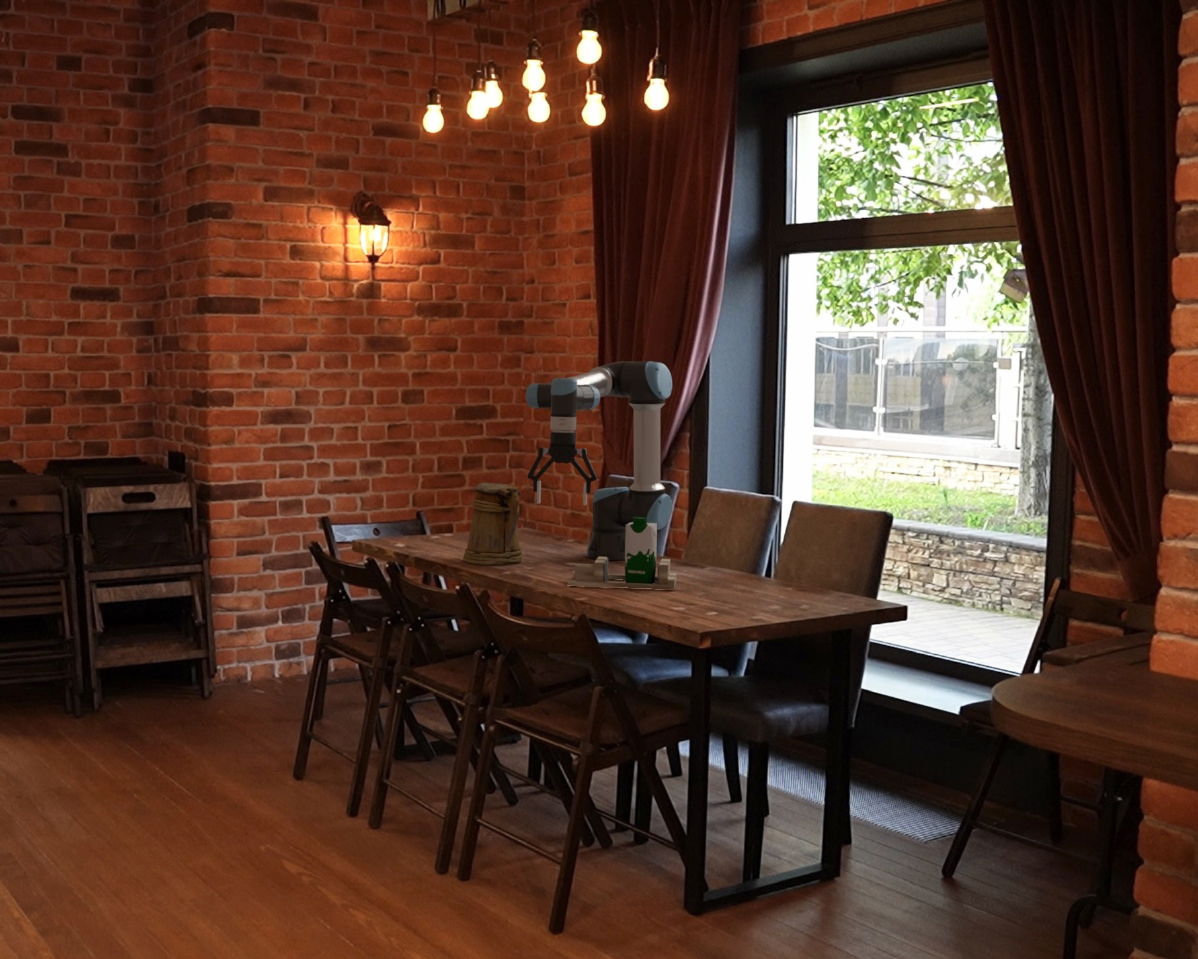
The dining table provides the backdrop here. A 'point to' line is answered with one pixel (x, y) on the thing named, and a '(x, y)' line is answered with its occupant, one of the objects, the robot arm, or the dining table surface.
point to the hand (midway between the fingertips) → (561, 504)
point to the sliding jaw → (593, 571)
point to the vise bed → (664, 581)
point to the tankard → (494, 526)
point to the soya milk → (640, 551)
